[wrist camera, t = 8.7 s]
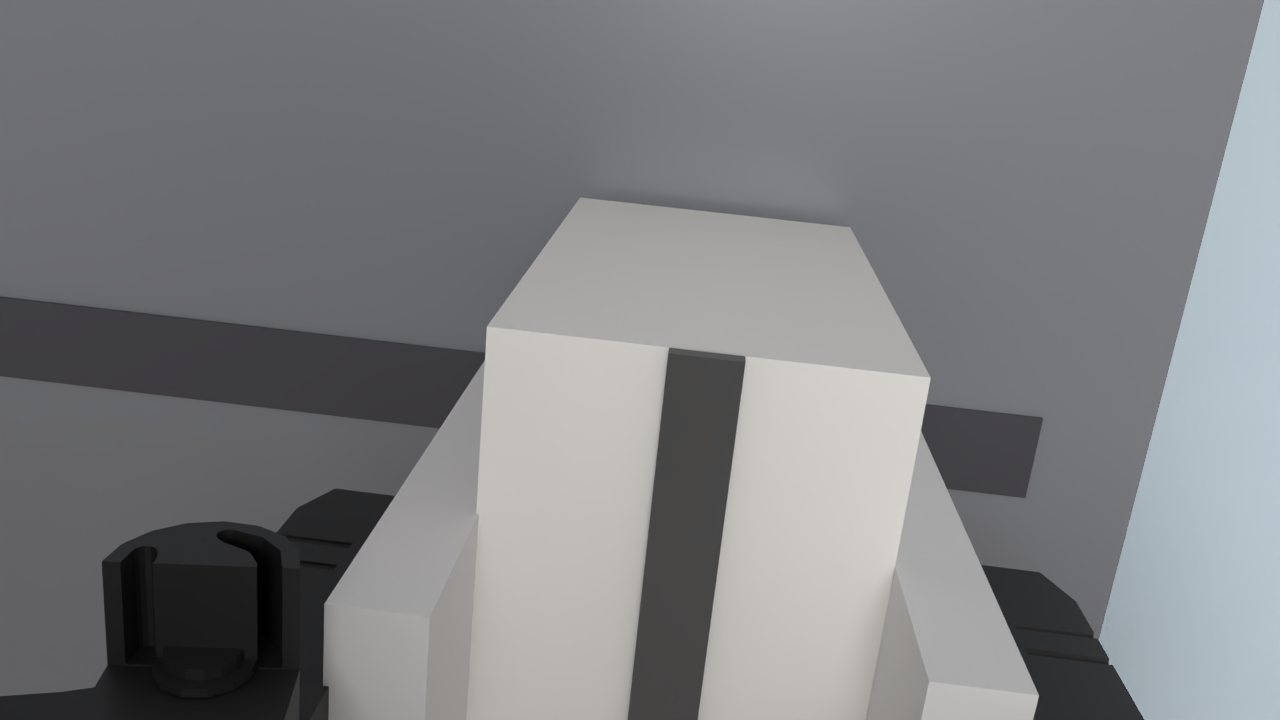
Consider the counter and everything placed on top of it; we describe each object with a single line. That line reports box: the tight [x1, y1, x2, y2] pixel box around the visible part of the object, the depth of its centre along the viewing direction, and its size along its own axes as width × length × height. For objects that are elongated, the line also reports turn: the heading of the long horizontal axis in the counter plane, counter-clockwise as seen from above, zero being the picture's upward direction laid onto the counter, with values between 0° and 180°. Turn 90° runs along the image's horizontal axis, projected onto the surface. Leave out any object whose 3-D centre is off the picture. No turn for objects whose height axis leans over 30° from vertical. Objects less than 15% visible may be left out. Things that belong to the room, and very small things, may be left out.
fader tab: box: [466, 197, 931, 720], centre depth 13 cm, size 4×6×6 cm, turn 174°
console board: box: [0, 0, 1264, 696], centre depth 17 cm, size 22×16×3 cm
